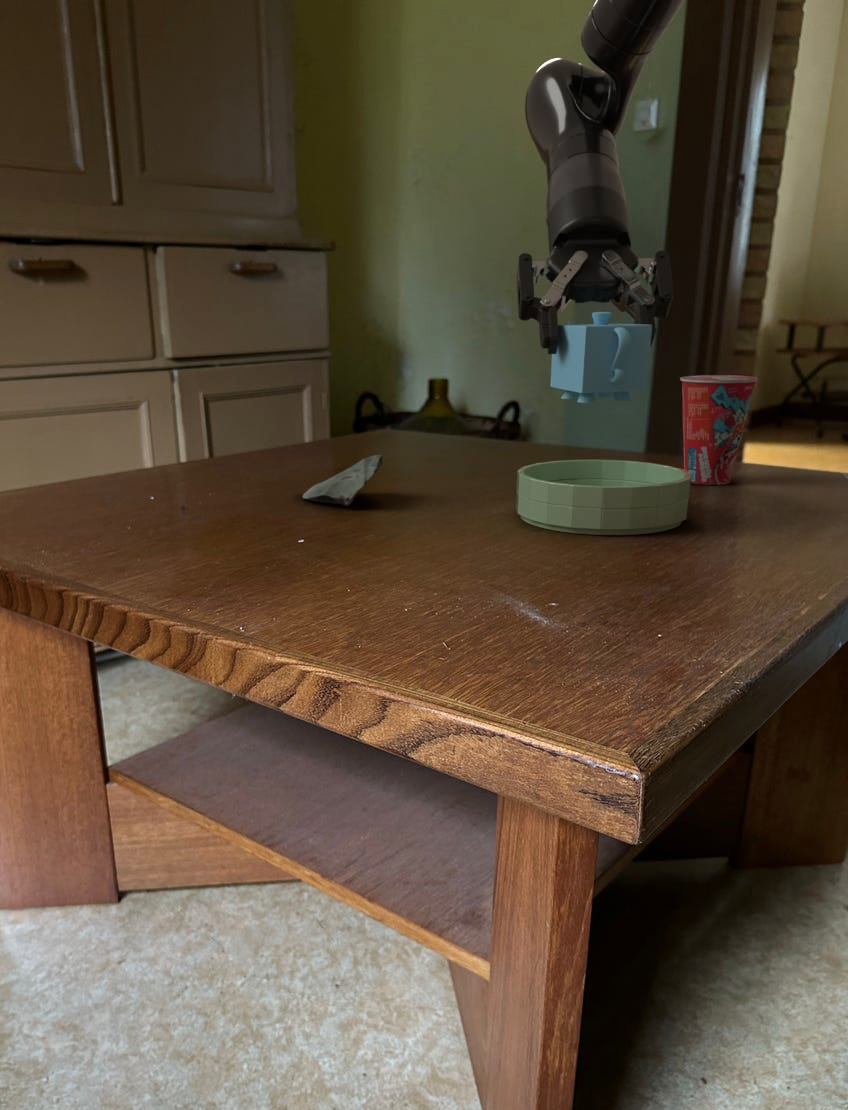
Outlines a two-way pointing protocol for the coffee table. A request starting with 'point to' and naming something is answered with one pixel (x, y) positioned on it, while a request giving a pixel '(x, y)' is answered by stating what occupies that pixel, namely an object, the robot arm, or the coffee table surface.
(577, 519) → the serving bowl
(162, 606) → the coffee table surface
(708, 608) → the coffee table surface
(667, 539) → the coffee table surface
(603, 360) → the teapot
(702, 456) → the cup
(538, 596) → the coffee table surface
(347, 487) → the stone
